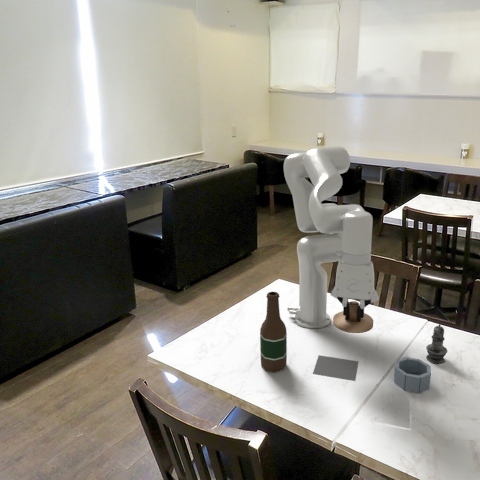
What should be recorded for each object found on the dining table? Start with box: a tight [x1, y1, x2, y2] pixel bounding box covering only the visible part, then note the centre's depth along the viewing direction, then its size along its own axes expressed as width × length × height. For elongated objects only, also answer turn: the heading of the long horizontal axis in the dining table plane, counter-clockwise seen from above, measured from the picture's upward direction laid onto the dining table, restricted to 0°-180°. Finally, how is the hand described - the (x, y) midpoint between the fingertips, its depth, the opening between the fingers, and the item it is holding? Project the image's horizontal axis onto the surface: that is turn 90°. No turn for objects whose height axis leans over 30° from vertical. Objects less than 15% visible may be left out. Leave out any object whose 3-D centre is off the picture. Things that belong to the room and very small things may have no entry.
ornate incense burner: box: [425, 323, 448, 365], centre depth 136 cm, size 6×6×12 cm
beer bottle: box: [259, 291, 288, 373], centre depth 134 cm, size 8×8×24 cm
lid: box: [332, 301, 374, 334], centre depth 127 cm, size 11×11×6 cm
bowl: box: [393, 356, 432, 395], centre depth 127 cm, size 9×9×5 cm
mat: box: [312, 354, 359, 382], centre depth 135 cm, size 12×10×1 cm
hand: (353, 318), depth 128 cm, fingers closed on lid, 2 cm apart
